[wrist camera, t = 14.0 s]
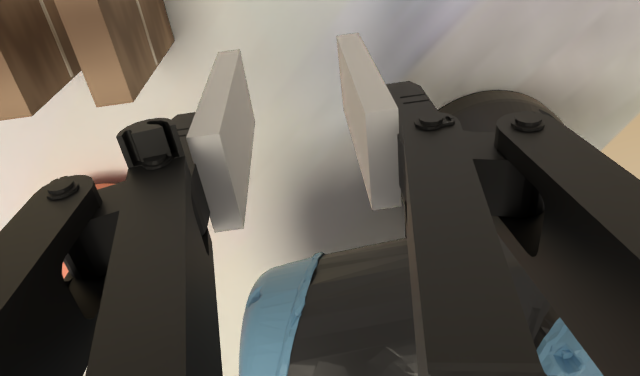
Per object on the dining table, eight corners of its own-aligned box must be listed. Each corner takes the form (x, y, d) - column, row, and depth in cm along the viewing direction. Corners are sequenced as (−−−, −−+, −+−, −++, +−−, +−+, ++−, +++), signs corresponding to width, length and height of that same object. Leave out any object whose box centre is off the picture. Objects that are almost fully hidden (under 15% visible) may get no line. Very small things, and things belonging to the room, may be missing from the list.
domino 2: (175, 40, 36) (133, 102, 26) (147, 44, 36) (95, 107, 26) (150, -47, 33) (92, -17, 23) (120, -43, 33) (48, -11, 23)
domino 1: (102, 50, 36) (32, 116, 26) (75, 54, 36) (-5, 121, 26) (70, -36, 33) (-24, -1, 23) (40, -32, 33) (-67, 5, 23)
